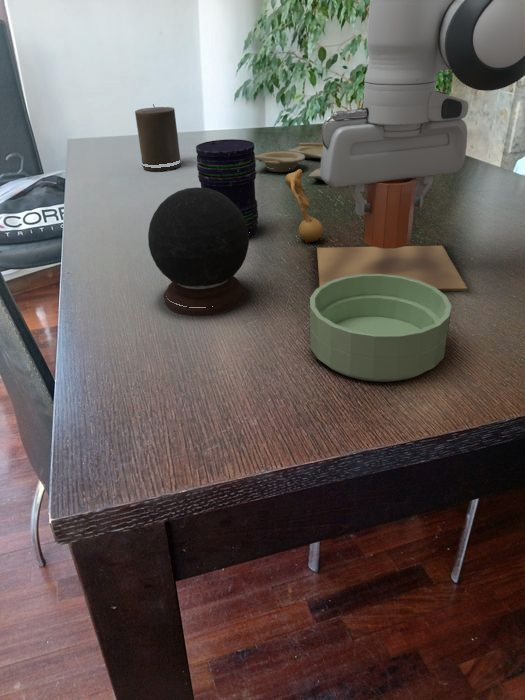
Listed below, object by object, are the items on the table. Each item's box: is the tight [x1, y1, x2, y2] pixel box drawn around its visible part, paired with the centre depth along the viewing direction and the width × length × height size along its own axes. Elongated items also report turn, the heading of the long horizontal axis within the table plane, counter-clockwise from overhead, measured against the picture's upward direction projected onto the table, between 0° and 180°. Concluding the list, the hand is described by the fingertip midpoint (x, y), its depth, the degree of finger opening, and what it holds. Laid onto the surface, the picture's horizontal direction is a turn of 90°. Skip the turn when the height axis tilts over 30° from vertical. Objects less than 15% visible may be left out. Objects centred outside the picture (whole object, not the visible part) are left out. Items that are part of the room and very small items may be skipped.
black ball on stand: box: [147, 187, 250, 317], centre depth 75 cm, size 13×13×15 cm
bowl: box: [309, 274, 452, 383], centre depth 64 cm, size 15×15×6 cm
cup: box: [362, 178, 418, 249], centre depth 80 cm, size 7×7×9 cm
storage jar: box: [195, 138, 259, 240], centre depth 97 cm, size 10×10×15 cm
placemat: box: [316, 245, 468, 292], centre depth 85 cm, size 20×16×1 cm
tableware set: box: [255, 142, 323, 181], centre depth 139 cm, size 35×29×4 cm
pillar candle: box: [134, 104, 182, 172], centre depth 142 cm, size 10×10×15 cm
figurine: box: [285, 168, 323, 243], centre depth 93 cm, size 8×6×12 cm
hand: (389, 210), depth 81 cm, fingers closed on cup, 7 cm apart
